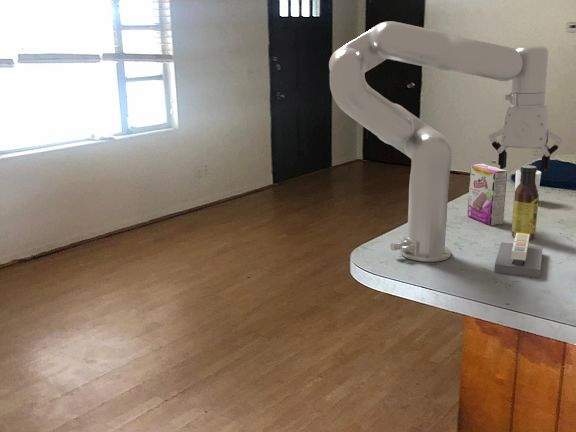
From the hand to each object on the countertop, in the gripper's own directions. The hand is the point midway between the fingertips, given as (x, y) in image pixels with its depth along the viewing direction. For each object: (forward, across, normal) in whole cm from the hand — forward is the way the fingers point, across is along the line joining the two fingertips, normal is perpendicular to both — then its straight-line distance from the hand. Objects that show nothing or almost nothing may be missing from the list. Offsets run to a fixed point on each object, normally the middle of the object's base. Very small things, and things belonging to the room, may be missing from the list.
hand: (522, 169), depth 151 cm
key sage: (+20, +2, -5) cm, 21 cm away
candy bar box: (+22, -15, +24) cm, 36 cm away
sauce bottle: (+22, -2, +14) cm, 26 cm away
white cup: (+23, -10, +54) cm, 59 cm away
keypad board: (+22, +2, -7) cm, 23 cm away
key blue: (+20, +3, -12) cm, 24 cm away
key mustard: (+20, +1, -1) cm, 20 cm away
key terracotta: (+20, +2, -9) cm, 22 cm away
